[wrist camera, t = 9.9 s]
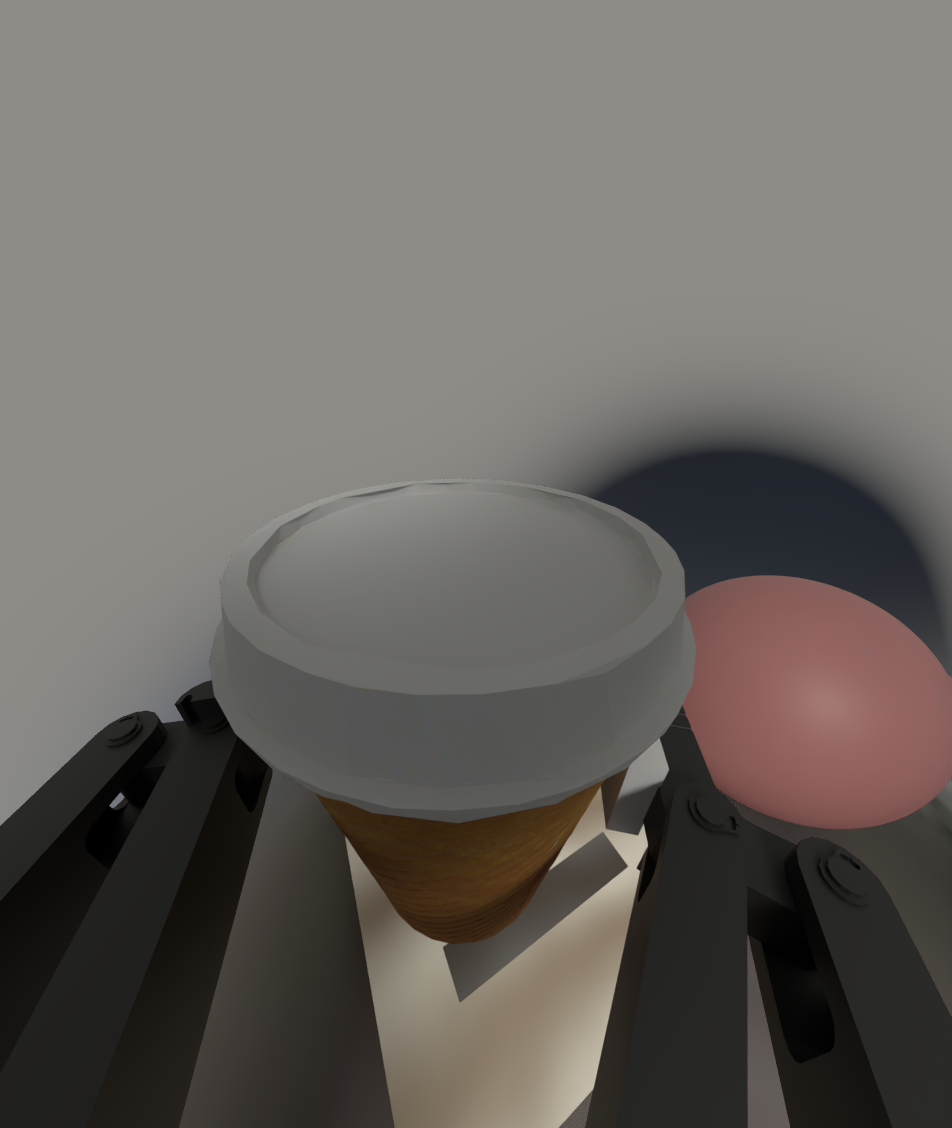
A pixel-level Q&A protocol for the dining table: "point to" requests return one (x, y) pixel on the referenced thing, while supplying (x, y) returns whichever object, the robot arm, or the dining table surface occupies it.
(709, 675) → the balloon
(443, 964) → the board
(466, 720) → the disposable coffee cup
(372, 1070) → the dining table surface
